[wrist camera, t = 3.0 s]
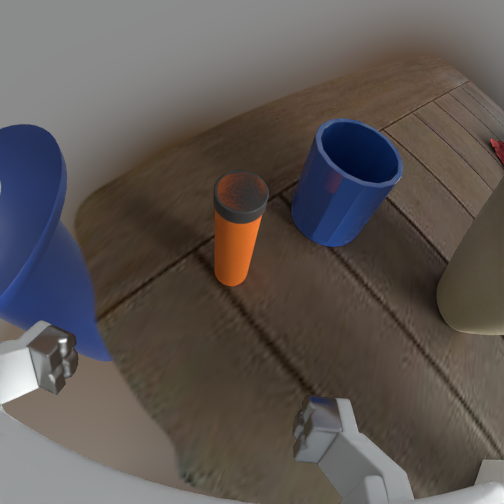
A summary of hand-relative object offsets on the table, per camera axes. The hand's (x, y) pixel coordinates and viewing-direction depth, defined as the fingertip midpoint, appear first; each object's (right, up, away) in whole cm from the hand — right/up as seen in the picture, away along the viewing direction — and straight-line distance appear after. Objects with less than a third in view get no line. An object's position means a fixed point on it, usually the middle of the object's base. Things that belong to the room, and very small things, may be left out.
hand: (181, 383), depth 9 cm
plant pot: (+26, -1, +21) cm, 33 cm away
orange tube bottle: (0, +3, +19) cm, 19 cm away
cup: (+10, +8, +23) cm, 27 cm away
